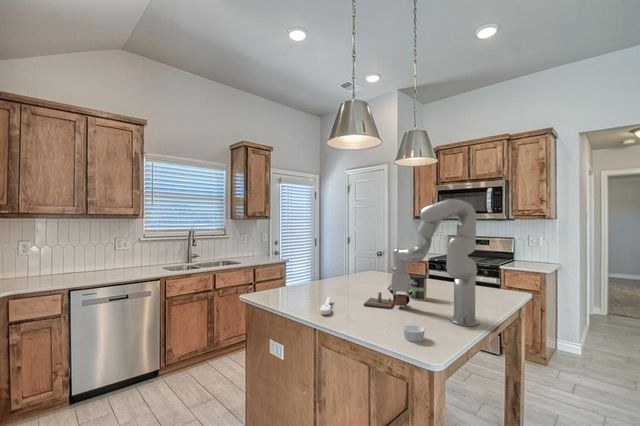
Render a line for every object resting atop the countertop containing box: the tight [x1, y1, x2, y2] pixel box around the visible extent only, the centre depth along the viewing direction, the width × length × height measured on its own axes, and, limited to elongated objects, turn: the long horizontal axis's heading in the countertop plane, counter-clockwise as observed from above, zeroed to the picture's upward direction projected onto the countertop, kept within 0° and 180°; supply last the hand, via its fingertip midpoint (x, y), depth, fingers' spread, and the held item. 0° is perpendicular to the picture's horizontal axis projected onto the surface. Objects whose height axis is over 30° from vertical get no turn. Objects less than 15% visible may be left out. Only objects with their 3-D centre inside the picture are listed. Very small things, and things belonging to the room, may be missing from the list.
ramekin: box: [402, 324, 426, 343], centre depth 135 cm, size 9×9×4 cm
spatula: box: [319, 296, 332, 316], centre depth 179 cm, size 28×6×3 cm, turn 173°
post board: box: [363, 291, 395, 310], centre depth 187 cm, size 15×15×7 cm
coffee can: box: [409, 273, 427, 301], centre depth 201 cm, size 10×10×14 cm
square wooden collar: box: [394, 293, 408, 307], centre depth 182 cm, size 10×6×5 cm, turn 156°
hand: (401, 302), depth 180 cm, fingers closed on square wooden collar, 6 cm apart
